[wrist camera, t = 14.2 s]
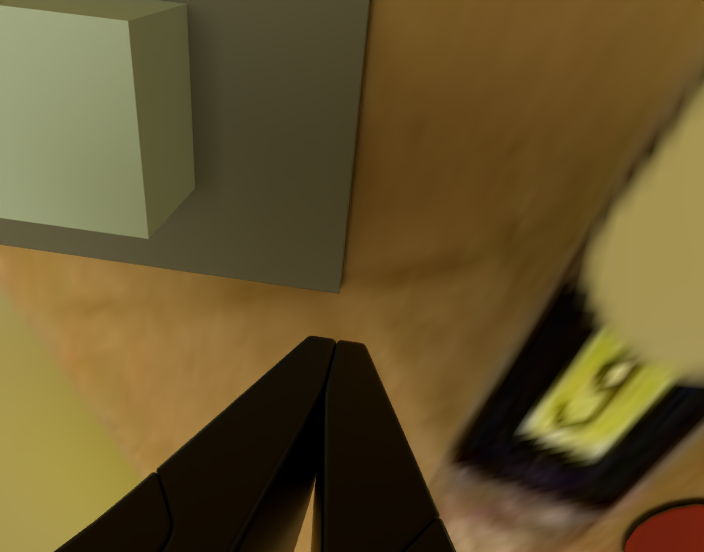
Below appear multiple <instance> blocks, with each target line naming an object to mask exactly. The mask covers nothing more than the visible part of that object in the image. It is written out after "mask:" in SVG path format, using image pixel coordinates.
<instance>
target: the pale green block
mask: <svg viewBox="0 0 704 552" xmlns="http://www.w3.org/2000/svg"><path fill="white" fill-rule="evenodd" d="M194 189H195V174H194V152H193V130H192V108H191V87H190V65H189V43H188V21H187V4H185V3H177V2H169V1H160V0H0V218H4V219H11V220H19V221H26V222H33V223H40V224H47V225H54V226H61V227H68V228H75V229H82V230H89V231H96V232H103V233H110V234H117V235H124V236H131V237H138V238H145V239H149V238H150V237H151V236H152V235H153V234H154V233H155V232H156V230H157V229H158V228H159V227H160V226H161V225H162V224H163V223H164V222H165V221H166V220H167V218H168V217H169V216H170V215H171V214H172V213H173V212H174V211H175V210H176V209H177V208H178V206H179V205H180V204H181V203H182V202H183V201H184V200H185V199H186V198H187V197H188V196H189V194H190V193H191V192H192V191H193V190H194Z"/></svg>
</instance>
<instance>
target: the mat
mask: <svg viewBox="0 0 704 552" xmlns="http://www.w3.org/2000/svg"><path fill="white" fill-rule="evenodd" d="M160 1H169V2H177V3H185V4H187V21H188V43H189V65H190V87H191V108H192V130H193V152H194V174H195V189H194V190H193V191H192V192H191V193H190V194H189V196H188V197H187V198H186V199H185V200H184V201H183V202H182V203H181V204H180V205H179V206H178V208H177V209H176V210H175V211H174V212H173V213H172V214H171V215H170V216H169V217H168V218H167V220H166V221H165V222H164V223H163V224H162V225H161V226H160V227H159V228H158V229H157V230H156V232H155V233H154V234H153V235H152V236H151V237H150V238H149V239H145V238H138V237H131V236H124V235H117V234H110V233H103V232H96V231H89V230H82V229H75V228H68V227H61V226H54V225H47V224H40V223H33V222H26V221H19V220H11V219H4V218H0V245H7V246H14V247H21V248H28V249H34V250H41V251H48V252H55V253H62V254H69V255H76V256H83V257H90V258H97V259H104V260H110V261H117V262H124V263H131V264H138V265H145V266H152V267H159V268H166V269H173V270H179V271H186V272H193V273H200V274H207V275H214V276H221V277H228V278H235V279H242V280H249V281H255V282H262V283H269V284H276V285H283V286H290V287H297V288H304V289H311V290H318V291H324V292H331V293H338V294H339V292H340V288H341V283H342V273H343V263H344V254H345V244H346V234H347V225H348V215H349V205H350V196H351V186H352V176H353V167H354V157H355V147H356V137H357V128H358V118H359V108H360V99H361V89H362V79H363V70H364V60H365V50H366V41H367V31H368V21H369V11H370V2H371V0H160Z"/></svg>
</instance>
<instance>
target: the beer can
mask: <svg viewBox="0 0 704 552" xmlns="http://www.w3.org/2000/svg"><path fill="white" fill-rule="evenodd" d="M624 552H704V504H690V505H684V506H678V507H673V508H670V509H668V510H665V511H662V512H660V513H657V514H655V515H653V516H651V517H650V518H648V519H647V520H645V521H644V522H643V523H641V524H640V525H638V526H637V527H636V529H635V530H634V531H633V533H632V534H631V536H630V537H629V538H628V540H627V541H626V546H625V551H624Z"/></svg>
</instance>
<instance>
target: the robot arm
mask: <svg viewBox="0 0 704 552" xmlns="http://www.w3.org/2000/svg"><path fill="white" fill-rule="evenodd" d="M315 478H316V481H315ZM314 483H315V492H314V504H313V522H312V541H311V552H456V550H455V548H454V546H453V544H452V541H451V539H450V537H449V534H448V532H447V530H446V528H445V525H444V523H443V521H442V520H441V519H439V512H438V510H437V508H436V505H435V503H434V501H433V499H432V496H431V494H430V492H429V489H428V487H427V485H426V482H425V480H424V478H423V476H422V473H421V471H420V469H419V466H418V464H417V462H416V460H415V457H414V455H413V453H412V450H411V448H410V446H409V444H408V441H407V439H406V437H405V434H404V432H403V430H402V428H401V425H400V423H399V421H398V418H397V416H396V414H395V411H394V409H393V407H392V405H391V402H390V400H389V398H388V395H387V393H386V391H385V389H384V386H383V384H382V382H381V379H380V377H379V375H378V373H377V370H376V368H375V366H374V363H373V361H372V359H371V357H370V354H369V352H368V350H367V348H366V346H365V345H364V344H363V343H358V342H351V341H344V340H340V341H338V342H337V344H336V341H335V340H334V339H331V338H324V337H317V336H309V337H307V338H306V339H305V340H304V341H302V342H301V343H300V344H299V345H298V346H297V347H296V348H294V349H293V350H292V351H291V352H290V353H289V354H288V355H286V356H285V357H284V358H283V359H282V360H281V361H280V362H278V363H277V364H276V365H275V366H274V367H273V368H272V369H270V370H269V371H268V372H267V373H266V374H265V375H264V376H262V377H261V378H260V379H259V380H258V381H257V382H256V383H254V384H253V385H252V386H251V387H250V388H249V389H247V390H246V391H245V392H244V393H243V394H242V395H241V396H239V397H238V398H237V399H236V400H235V401H234V402H233V403H231V404H230V405H229V406H228V407H227V408H226V409H225V410H223V411H222V412H221V413H220V414H219V415H218V416H217V417H215V418H214V419H213V420H212V421H211V422H210V423H209V424H207V425H206V426H205V427H204V428H203V429H202V430H201V431H199V432H198V433H197V434H196V435H195V436H194V437H193V438H191V439H190V440H189V441H188V442H187V443H186V444H185V445H183V446H182V447H181V448H180V449H179V450H178V451H177V452H175V453H174V454H173V455H172V456H171V457H170V458H169V459H167V460H166V461H165V462H164V463H163V464H162V465H161V466H159V467H158V468H157V470H156V473H154V472H153V473H151V474H150V475H149V476H148V477H146V478H145V479H144V480H143V481H142V482H141V483H140V484H138V485H137V486H136V487H135V488H134V489H133V490H132V491H130V492H129V493H128V494H127V495H126V496H124V497H123V498H122V499H121V500H120V501H118V502H117V503H116V504H115V505H114V506H112V507H111V508H110V509H109V510H108V511H106V512H105V513H104V514H103V515H101V516H100V517H99V518H98V519H97V520H95V521H94V522H93V523H91V524H90V525H89V526H87V527H86V528H85V529H83V530H82V531H81V532H79V533H78V534H77V535H75V536H74V537H73V538H71V539H70V540H69V541H67V542H66V543H65V544H63V545H62V546H61V547H59V548H58V549H57V550H56V551H54V552H294V549H295V546H296V543H297V540H298V537H299V534H300V530H301V527H302V524H303V521H304V518H305V515H306V511H307V508H308V505H309V502H310V498H311V495H312V491H313V488H314Z"/></svg>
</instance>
